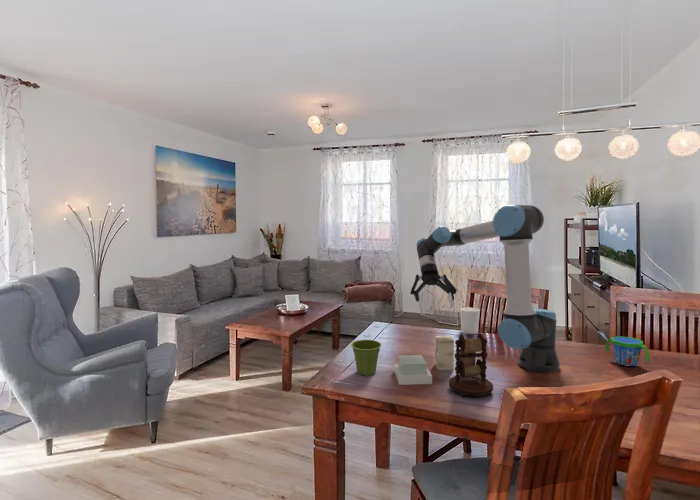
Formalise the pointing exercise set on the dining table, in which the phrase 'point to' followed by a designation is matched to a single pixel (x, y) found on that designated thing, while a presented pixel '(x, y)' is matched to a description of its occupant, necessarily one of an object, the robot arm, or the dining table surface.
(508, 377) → the dining table surface
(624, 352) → the snack cup
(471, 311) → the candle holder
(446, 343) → the maple brick
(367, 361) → the plant pot
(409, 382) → the tower base
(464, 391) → the brown wooden spool stand
